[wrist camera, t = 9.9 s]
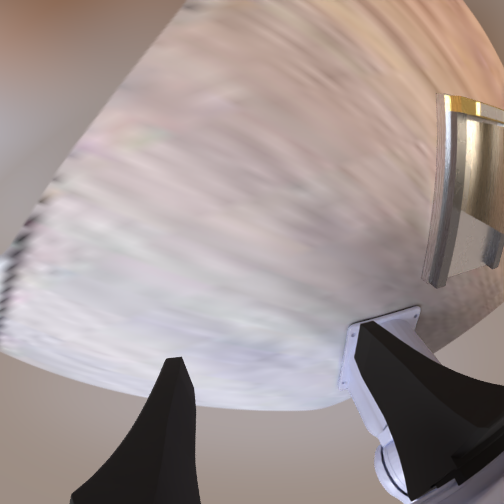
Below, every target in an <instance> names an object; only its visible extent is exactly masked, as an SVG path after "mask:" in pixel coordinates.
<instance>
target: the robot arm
mask: <svg viewBox="0 0 504 504" xmlns="http://www.w3.org/2000/svg"><path fill="white" fill-rule="evenodd" d="M420 311H421V309H420V307H419V306H415V307H412V308H408V309H405V310H402V311H399V312H395V313H392V314H388V315H385V316H381V317H378V318H374V319H371V320H367V321H363V322H359V323H355V324H352V325H351V326H349V328H348V332H347V338H346V345H345V351H344V357H343V363H342V368H341V373H340V379H339V384H338V389H339V390H341V391H342V390H346V389H348V391H349V393H350V395H351V397H352V399H353V401H354V403H355V405H356V407H357V409H358V411H359V414H360V416H361V418H362V420H363V422H364V424H365V426H366V428H367V430H368V431H369V432H370V433H371V434H372V435H374V436H375V437H377V438H378V439H379V441H380V443H381V445H379V446H378V447H377V449H376V452H375V459H374V466H375V471H376V474H377V476H378V479H379V481H380V482H381V484H382V486H383V487H384V488H385V489H386V491H387V492H388V493H389V494H391V495H392V496H394V497H396V498H398V499H399V500H400V501H401V502H402V503H404V504H504V386H502V385H497V384H492V383H488V382H484V381H480V380H477V379H474V378H471V377H468V376H465V375H463V374H460V373H458V372H455V371H453V370H451V369H449V368H447V367H445V366H443V365H441V363H440V362H439V361H438V360H437V358H436V357H435V356H434V354H433V353H432V352H431V351H430V349H429V348H428V347H427V346H426V344H425V343H424V342H423V341H422V339H421V338H420V337H419V336H418V334H417V333H416V332H415V328H416V324H417V321H418V318H419V314H420ZM195 433H196V404H195V393H194V387H193V384H192V382H191V379H190V377H189V374H188V372H187V369H186V366H185V364H184V361H183V359H182V357H176V358H167V359H166V360H165V362H164V364H163V367H162V369H161V372H160V374H159V376H158V379H157V381H156V383H155V385H154V387H153V389H152V391H151V393H150V395H149V397H148V400H147V402H146V404H145V405H144V407H143V409H142V411H141V413H140V414H139V416H138V418H137V420H136V421H135V423H134V425H133V426H132V428H131V430H130V431H129V433H128V434H127V435H126V437H125V438H124V440H123V441H122V443H121V444H120V445H119V447H118V448H117V449H116V450H115V452H114V453H113V454H112V455H111V457H110V458H109V459H108V460H107V461H106V462H105V463H104V464H103V465H102V467H101V468H100V469H99V470H98V471H97V472H96V473H95V474H94V475H93V476H92V477H91V478H90V479H89V480H88V481H86V482H85V483H84V484H83V485H82V486H80V487H79V488H78V489H77V490H76V491H74V492H73V493H72V495H71V499H70V504H201V503H200V496H199V489H198V482H197V475H196V465H195Z"/></svg>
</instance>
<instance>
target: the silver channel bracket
mask: <svg viewBox="0 0 504 504" xmlns="http://www.w3.org/2000/svg"><path fill="white" fill-rule="evenodd" d="M436 103H437V165H436V181H435V193H434V203H433V212H432V220H431V227H430V234H429V240H428V246H427V252H426V257H425V263H424V268H423V272H422V277H421V278H422V279H423V280H424V281H425V282H426V283H427V284H428V283H430V284H431V285H433V286H434V287H435V288H436V289H437V288H440V287H443V286H445V285H446V281H447V278H448V277H451V276H454V275H458V274H461V273H464V272H467V271H470V270H473V269H476V268H479V267H482V266H485V265H487V266H489V267H490V268H491V269H495V268H497V267H498V265H499V262H500V258H501V254H502V250H503V246H504V234H502V233H501V232H499V231H497V230H496V229H494V228H492V227H490V226H489V225H487V224H485V223H483V222H481V221H480V220H478V219H476V218H474V217H472V216H470V215H469V214H467V213H466V208H467V201H468V192H469V183H470V171H471V156H472V121H477V122H482V123H487V124H492V125H497V126H502V127H504V110H502V109H500V108H497V107H494V106H491V105H488V104H485V103H482V102H479V101H476V100H472V99H469V98H465V97H462V96H452V95H448V94H442V93H436Z"/></svg>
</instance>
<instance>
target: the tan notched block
mask: <svg viewBox="0 0 504 504" xmlns="http://www.w3.org/2000/svg"><path fill="white" fill-rule="evenodd" d="M466 213H467V214H469V215H470V216H472V217H474V218H476V219H478V220H480V221H481V222H483V223H485V224H487V225H489V226H490V227H492V228H494V229H496V230H497V231H499V232H501V233H502V234H504V127H502V126H497V125H492V124H487V123H482V122H477V121H472V156H471V171H470V183H469V192H468V201H467V208H466Z"/></svg>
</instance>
